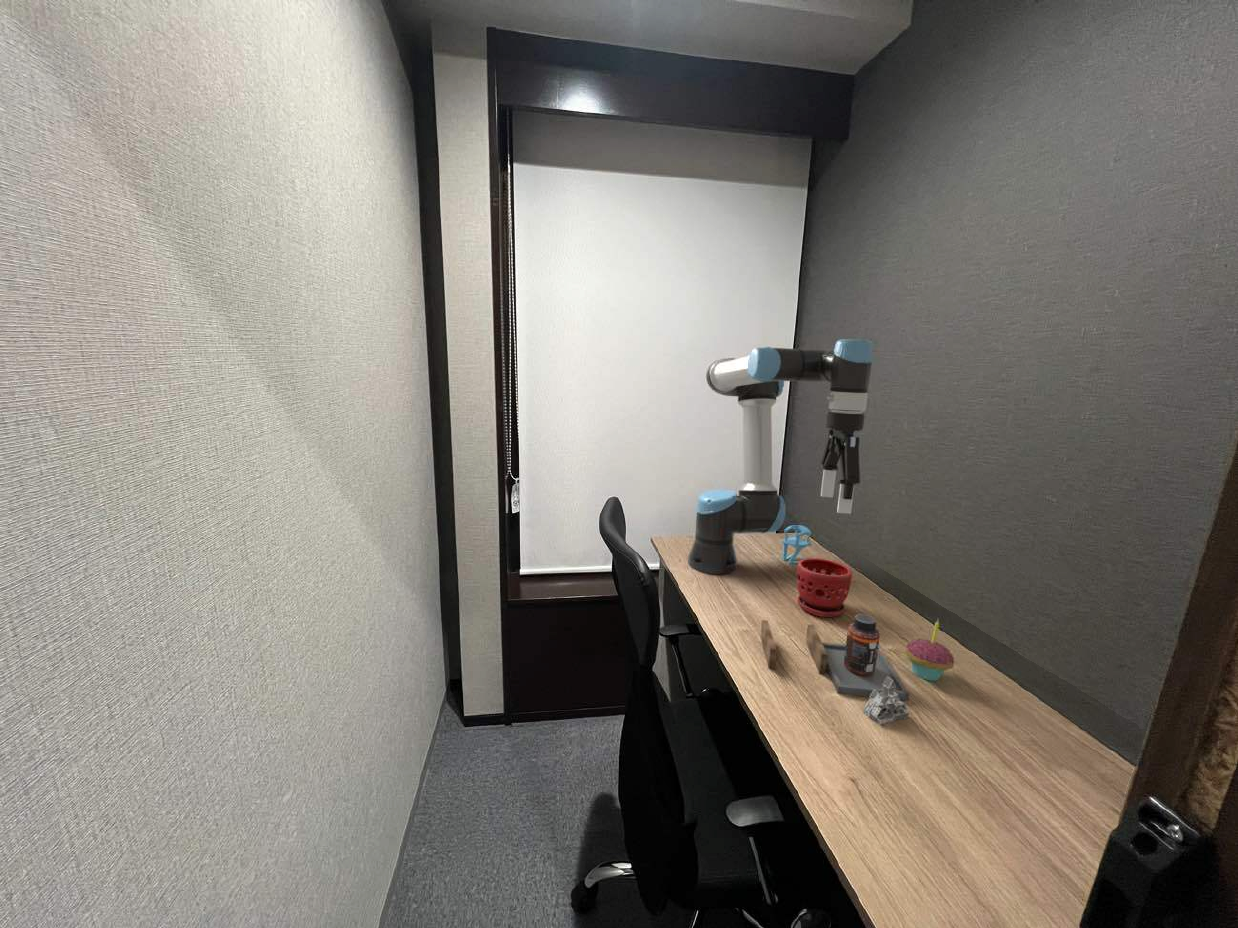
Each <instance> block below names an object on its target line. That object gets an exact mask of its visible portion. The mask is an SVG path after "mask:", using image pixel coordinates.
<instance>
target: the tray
mask: <svg viewBox="0 0 1238 928" xmlns="http://www.w3.org/2000/svg"><path fill="white" fill-rule="evenodd" d="M821 642H822V641H821ZM822 644H823V646H824V648H825V650H826V652H827V654H828V656H827V664H826V670H827V673H828V675H829V677H830V680H831V681H832V683H833V686H834V688H835V691H836V693H837V694H842V695H850V696H859V697H861V696H862V697H868V698H870V695H871V693H872V691H873V690H876V691H877V692H878V693H881V692H882V691H883V685H882V684H883V683H884V681H885V680H886V678H887V676H888V677H889V678H891V679H892V680H894V683H895V686H896V687H895V688H894V692H895V693H896V694H898V697H899V699H900V701H905V702H909V700H910V693H909V691H908V689H907V688H906V687H905V685H904V683H903V682H902V681H901V679H900V678H899V676H898V675H897V673H896V672H895V670H894V668H893V667H892V666H891V664H890V663H889V661H888V660H887V659H886V657H885V656H884V654H883V652H882V651H881V650H880V648H879V647H878V652H877V660H876V666H875V671H874V673H873V674H871V675H860V674H856V673H854V672H851V671H850V670H848V669H847V668H846V667H845V665H844V656H845V648H846V644H841V643H832V642H822Z"/></svg>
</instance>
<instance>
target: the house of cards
mask: <svg viewBox="0 0 1238 928" xmlns="http://www.w3.org/2000/svg"><path fill="white" fill-rule="evenodd" d="M882 685H883V691H882V692H881V693H878V692H877V691H876V690H873V691H872V693H871V695H870V697H869V699H868V701H867V703H865V706H864V707H863V713H864V714H865V715H866V716H867V717H868V718H869V719H870V720H873V722H875V723H876V724H877V725H879V726H881V724H882V725H883V724H886V723H889V722H895V721H896V720H899V719H900V720H901V719H904V718H909V716H910V711H908V710H907V708H906V705H905V704H904V702H902V700H900V699H899V697H898V694H896V693H895V692H894V688H895V687H896V686H895V683H894V680H892V679H891V678H889V677H888V676H887V678H886V680H885V681H884V683H883V684H882Z"/></svg>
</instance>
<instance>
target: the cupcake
mask: <svg viewBox="0 0 1238 928" xmlns="http://www.w3.org/2000/svg"><path fill="white" fill-rule="evenodd" d="M939 620H940V619H939V618H937V621H936V622H935V623H934V628H933V632H932V633H933V634H932V637H931V639H925V638H917V639H915V640H912V641H910V642H908V644H907V645H906V650H905V654H906V656H907V658H908V660H909V661H910V662H911V666H912V672H913V673H914V674H915V675H916V676H918V678H921V679H923V680H926V681H931V682H932V681H933V682H934V681H938V680H939V679H940V678H941V676H942V675H943V673H944V672H945V671H948V670H950V669H952V668H954V663H955V658H954V655H953V653H952V652H951V650H949V649H948V648H947V647H945V645H943V644H941V643H939V642H937V635H938V633H939V632H938V631H939V627H940V623H939Z"/></svg>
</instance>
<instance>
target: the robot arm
mask: <svg viewBox="0 0 1238 928" xmlns="http://www.w3.org/2000/svg"><path fill="white" fill-rule="evenodd" d="M873 349H874V344H873V342H872V340H870V339H863V338H861V339H858V338H853V339H852V338H846V339H845V338H843V339H838V340H837V341H836V342H835V345H834V348H833V349H817V348H816V349H814V348H813V349H812V348H811V349H810V348H786V347H785V348H783V347H780V348H779V347H771V346H764V347H755V348H754V349H753V350H752V351H751V353H749V355H744V356H742V357H738V358H735V357H732V358H731V357H729V358H720V359H717V360H715V361H714V362H712V363H711V364H710V365H709V367H708V369H707V370H706V376H705V379H706V383H707V385H708V386H709V387H710V389H711V390H712V391H714V392H715V393H716V394H719V395H721V396H726V397H737V404H738V405H739V406H740V407H741V408H742V432H743V433H742V436H743V438H742V439H743V441H742V442H743V443H742V445H743V447H742V448H743V450H742V451H743V453H742V454H743V459H742V460H743V485H742V486H740V488H739V489H738V495H737V493H736V492H735V491H733V490H730V489H711V490H708V491H705V492H703V493H702V494H700V495H699V496H698V499H697V506H696V509H695V510H696V518H695V519H696V520H695V535H694V541H693V543H692V547H691V549H690V551H689V553H688V556H687V557H688V558H687V564H688V566H689V568H691V569H693V570H695V571H697V572H700V573H704V574H709V575H727V574H731V573H734V572H736V570H737V568H738V558H737V557H738V556H737V555H736V550H735V547H734V546H735V545H734V536H735V534H757V533H759V534H766V533H774V532H776V531H779V529H780V528H781V526H782V525H783V523H784V522H785V518H786V513H787V511H786V510H787V509H786V503H785V499H784V498H783V496H781V495H779V494H778V488H777V487H775V486H774V483H773V448H772V447H773V444H772V441H773V437H772V436H773V435H772V432H773V431H772V430H773V429H772V422H773V421H772V407H773V406H774V405H775V404H776V403H777V398H778V397H780V396H781V394H782V393H783V390H784V389H783V388H784V387H785V382H801V383H803V382H804V383H805V382H806V383H811V382H812V383H826V384H827V383H830V390H829V391H830V392H829V395H827V397H826V399H827V400H828V410H830V411H828V412H827V415H826V424H825V426H826V428H827V429H829V430H828V437H827V441H826V444H825V449H824V451H823V455H822V459H821V465H822V468H823V471H822V472H823V473H822V480H821V488H820V497H823V498H834V492H835V485H836V477H837V471H838V470H839V469H838V468H839V467H838V465H837V464H838V463H840V470H841V479H840V480H839V482H838V483H839V492H838V499H837V500H838V501H837V506H836V507H837V509H836V513H837V514H849V515H851V514H852V508H853V500H854V493H855V486H856V485H857V484H860V483H861V479H860V452H859V449H860V447H859V446H860V437H858V436H854V432H860V431H862V430H863V429H864V423H865V414H864V413H863V412H865V411H866V409H867V402H868V396H869V391H868V389H869V386H870V385H869V384H870V377H871V372H872V371H871V370H872V364H873V360H874V358H873V351H874V350H873Z"/></svg>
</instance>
